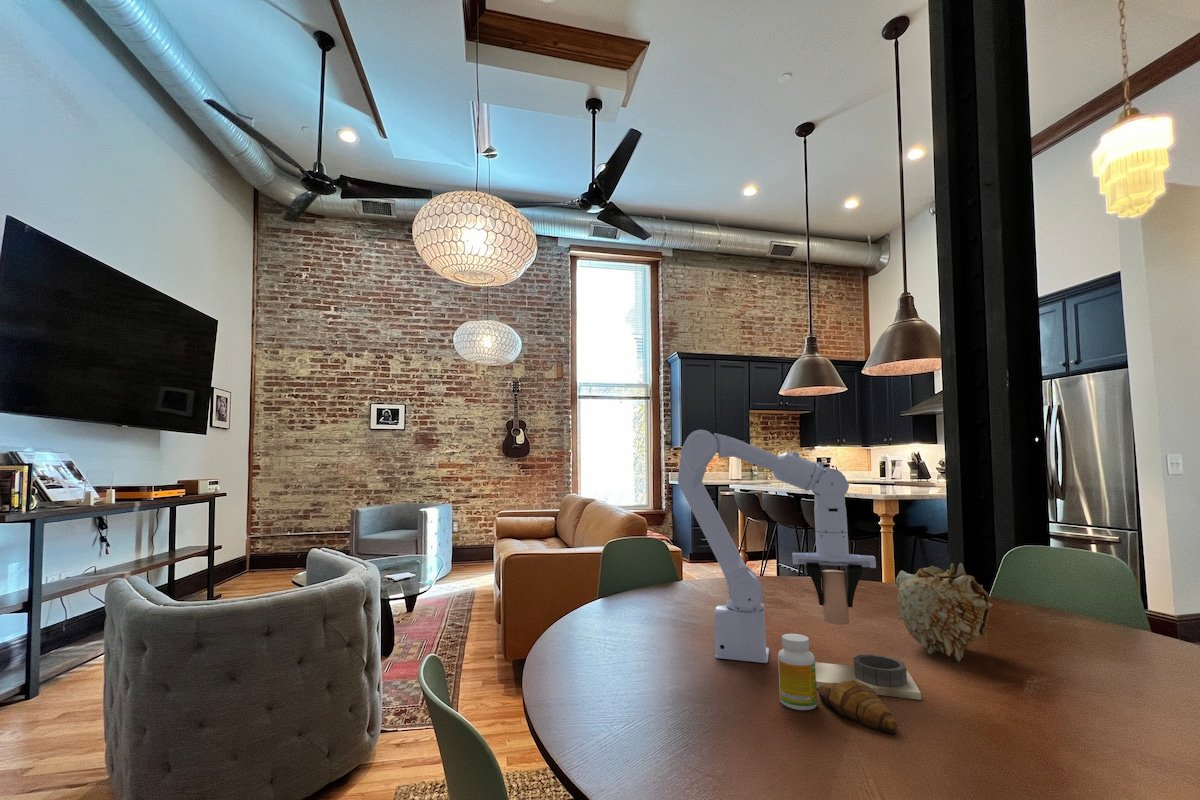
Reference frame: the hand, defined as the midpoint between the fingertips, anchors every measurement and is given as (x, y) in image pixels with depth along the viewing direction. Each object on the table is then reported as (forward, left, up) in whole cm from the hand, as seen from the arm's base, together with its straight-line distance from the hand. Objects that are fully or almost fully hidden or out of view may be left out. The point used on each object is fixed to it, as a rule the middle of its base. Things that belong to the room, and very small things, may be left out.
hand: (835, 605), depth 104 cm
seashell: (+21, +12, -10) cm, 26 cm away
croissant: (0, -23, -10) cm, 26 cm away
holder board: (+1, -10, -10) cm, 14 cm away
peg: (0, 0, -3) cm, 3 cm away
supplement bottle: (-7, -22, -10) cm, 26 cm away
